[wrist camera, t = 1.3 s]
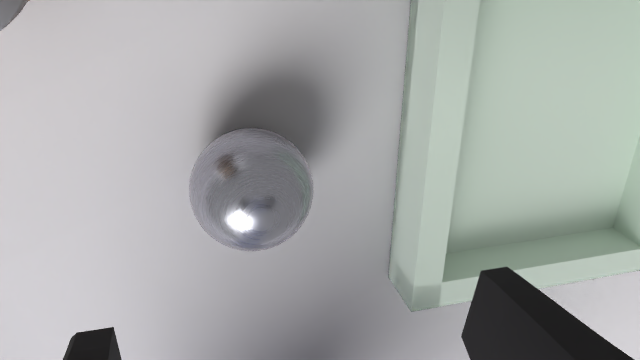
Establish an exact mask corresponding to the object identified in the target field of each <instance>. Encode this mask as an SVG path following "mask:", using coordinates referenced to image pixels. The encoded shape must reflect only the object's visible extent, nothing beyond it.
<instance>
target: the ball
mask: <svg viewBox="0 0 640 360" xmlns="http://www.w3.org/2000/svg"><path fill="white" fill-rule="evenodd" d="M189 194H190V202H191V206H192V209H193V212H194V215H195V216H196V218H197V220H198V222H199V223H200V225H201V226H202V228H203V229H204V230H205V231H206V232H207V233H208V234H209V235H210V236H211V237H212V238H214V239H215V240H216V241H218V242H220V243H221V244H223V245H226V246H228V247H231V248H233V249H237V250H243V251H259V250H265V249H269V248H272V247H274V246H277V245H279V244H281V243H283V242H284V241H286V240H287V239H289V238H290V237H291V236H292V235H293V234H295V233H296V232H297V230H298V229H299V228H300V227H301V225H302V224H303V223H304V221H305V219H306V217H307V215H308V213H309V210H310V208H311V204H312V199H313V180H312V175H311V171H310V169H309V166H308V164H307V162H306V160H305V158H304V156H303V155H302V154H301V152H300V151H299V150H298V149H297V147H296V146H295V145H294V144H292V143H291V142H290V141H289V140H287V139H286V138H284V137H283V136H281V135H279V134H277V133H274V132H272V131H269V130H264V129H258V128H244V129H238V130H234V131H231V132H228V133H226V134H224V135H222V136H220V137H218V138H217V139H215V140H214V141H213V142H211V143H210V144H209V145H208V146H207V147H206V148H205V149H204V151H203V152H202V153H201V154H200V156H199V157H198V159H197V161H196V163H195V165H194V167H193V170H192V174H191V177H190V185H189Z"/></svg>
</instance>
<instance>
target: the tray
mask: <svg viewBox="0 0 640 360" xmlns="http://www.w3.org/2000/svg"><path fill="white" fill-rule="evenodd" d="M501 267H509V268H510V269H511V270H513V271H514V272H516V273H517V274H518V275H520V276H521V277H522V278H524V279H525V280H526V281H528V282H529V283H530V284H532V285H533V286H534V287H536V288H537V289H541V288H546V287H552V286H557V285H563V284H568V283H574V282H579V281H585V280H590V279H596V278H601V277H607V276H612V275H618V274H623V273H629V272H634V271H640V0H411V5H410V17H409V29H408V41H407V54H406V66H405V78H404V90H403V103H402V115H401V127H400V140H399V152H398V164H397V176H396V189H395V201H394V213H393V226H392V238H391V250H390V262H389V275H388V277H389V279H390V280H391V282H392V283H393V285H394V286H395V288H396V289H397V291H398V292H399V294H400V296H401V297H402V299H403V300H404V302H405V303H406V305H407V306H408V308H409V309H410V311H411V312H414V311H419V310H425V309H430V308H436V307H441V306H447V305H452V304H458V303H463V302H469V301H472V299H473V296H474V292H475V289H476V285H477V282H478V279H479V275H480V272H481V271H482V270H488V269H495V268H501Z"/></svg>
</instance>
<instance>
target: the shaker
mask: <svg viewBox="0 0 640 360" xmlns="http://www.w3.org/2000/svg"><path fill="white" fill-rule="evenodd" d="M28 1H29V0H0V31H1V30H2V29H3V28H5V27H6V26H7V25H8V24H9V23H10V22H11V21H12V20H13V19H14V18H15V17H16V16H17V15H18V14H19V13H20V12H21V10H22V9H23V7H24V6H25V4H26V3H27V2H28Z"/></svg>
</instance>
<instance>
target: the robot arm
mask: <svg viewBox="0 0 640 360" xmlns="http://www.w3.org/2000/svg"><path fill="white" fill-rule="evenodd" d="M461 337H462V339H463V342H464V344H465V347H466V349H467V352H468V354H469V357H470V359H471V360H634V359H632V358H631V357H630V356H628V355H627V354H625V353H624V352H622V351H621V350H620V349H618V348H617V347H615V346H614V345H612V344H611V343H610V342H608V341H607V340H605V339H604V338H603V337H601V336H600V335H599V334H597V333H596V332H594V331H593V330H592V329H590V328H589V327H588V326H586V325H585V324H584V323H582V322H581V321H580V320H578V319H577V318H575V317H574V316H573V315H571V314H570V313H569V312H568V311H566V310H565V309H564V308H562V307H561V306H560V305H558V304H557V303H556V302H554V301H553V300H552V299H550V298H549V297H548V296H546V295H545V294H544V293H542V292H541V291H540V290H538V289H537V288H536V287H534V286H533V285H532V284H530V283H529V282H528V281H526V280H525V279H524V278H522V277H521V276H520V275H518V274H517V273H516V272H514V271H513V270H511V269H510V268H509V267H501V268H495V269H488V270H482V271H481V272H480V275H479V279H478V282H477V285H476V289H475V292H474V296H473V299H472V302H471V306H470V309H469V312H468V316H467V319H466V322H465V326H464V329H463V332H462V336H461ZM63 360H121V356H120V352H119V348H118V344H117V340H116V335H115V331H114V327H111V328H105V329H98V330H92V331H85V332H79V333H76V334H75V335H74V336H73V337H72V338H71V340H70V343H69V345H68V348H67V351H66V353H65V356H64V358H63Z"/></svg>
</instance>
